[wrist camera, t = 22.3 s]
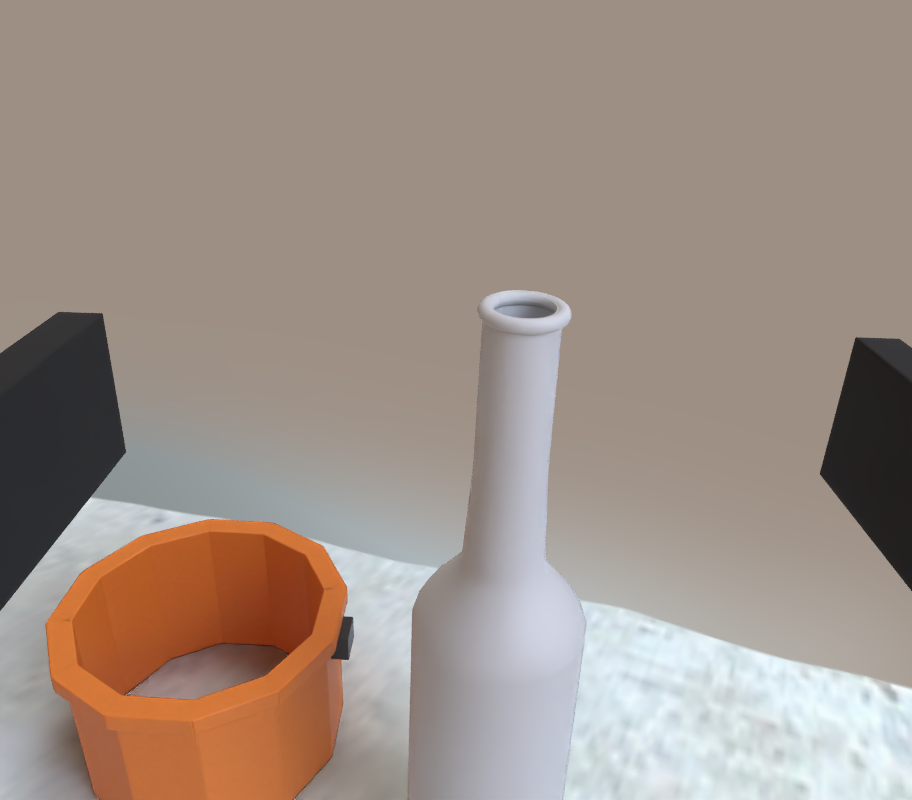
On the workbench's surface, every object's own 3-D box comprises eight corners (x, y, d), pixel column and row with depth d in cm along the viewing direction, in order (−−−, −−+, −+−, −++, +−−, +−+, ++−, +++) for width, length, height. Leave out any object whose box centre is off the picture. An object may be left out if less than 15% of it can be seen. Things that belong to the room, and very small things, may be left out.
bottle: (580, 902, 36) (686, 322, 22) (455, 989, 32) (495, 370, 19) (496, 788, 40) (543, 257, 27) (380, 854, 37) (371, 286, 24)
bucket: (18, 834, 37) (-26, 708, 33) (136, 624, 50) (114, 513, 46) (330, 855, 37) (323, 729, 33) (371, 638, 49) (369, 527, 45)
